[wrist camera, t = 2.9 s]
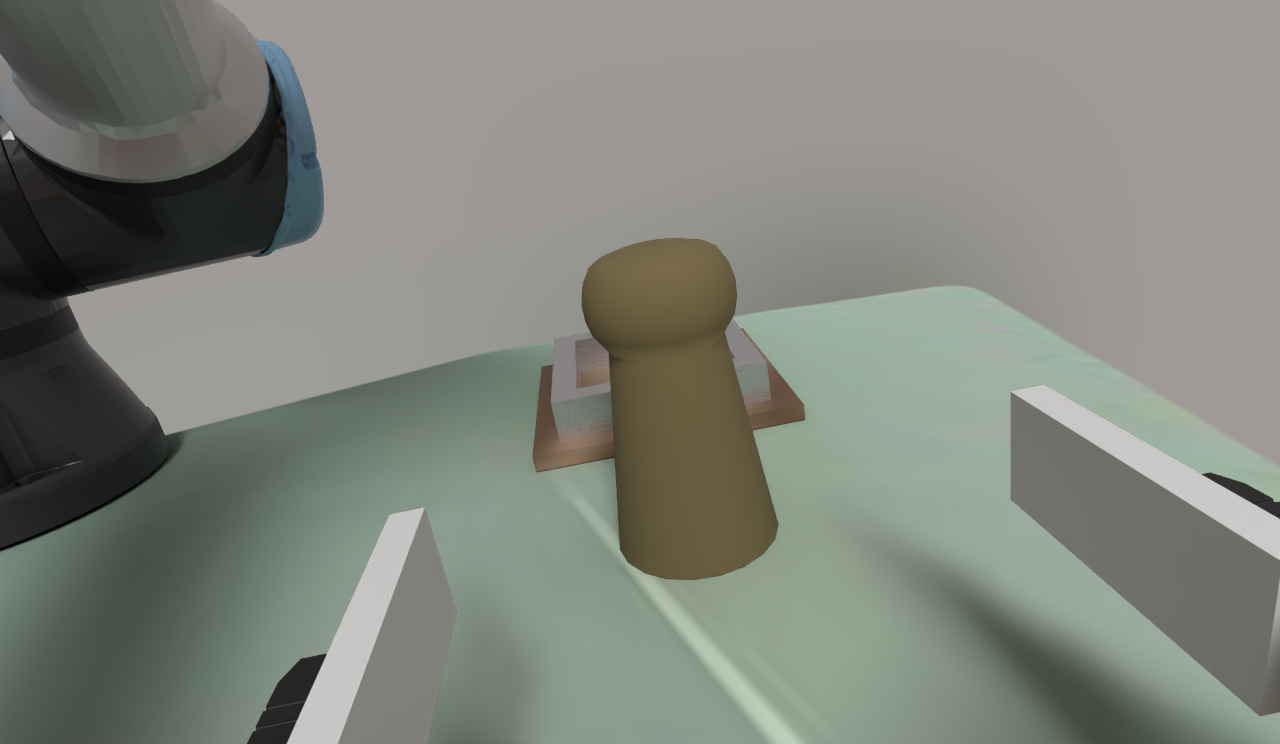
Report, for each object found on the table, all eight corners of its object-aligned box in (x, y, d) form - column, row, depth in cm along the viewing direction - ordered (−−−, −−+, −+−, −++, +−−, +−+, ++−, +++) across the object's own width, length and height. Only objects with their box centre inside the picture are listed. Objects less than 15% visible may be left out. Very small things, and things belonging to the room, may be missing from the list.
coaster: (536, 471, 35) (523, 418, 34) (544, 378, 47) (535, 337, 46) (804, 419, 35) (799, 364, 34) (744, 340, 47) (738, 298, 47)
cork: (608, 510, 31) (552, 248, 27) (748, 476, 31) (713, 216, 27) (634, 597, 25) (568, 282, 21) (803, 553, 26) (769, 239, 22)
